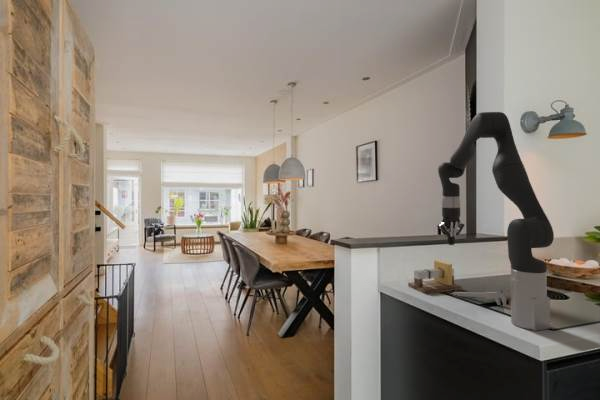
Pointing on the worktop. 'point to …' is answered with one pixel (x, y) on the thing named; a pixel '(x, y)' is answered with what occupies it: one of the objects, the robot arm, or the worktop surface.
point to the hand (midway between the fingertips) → (451, 244)
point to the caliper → (487, 296)
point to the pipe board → (433, 286)
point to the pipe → (430, 273)
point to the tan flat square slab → (447, 272)
